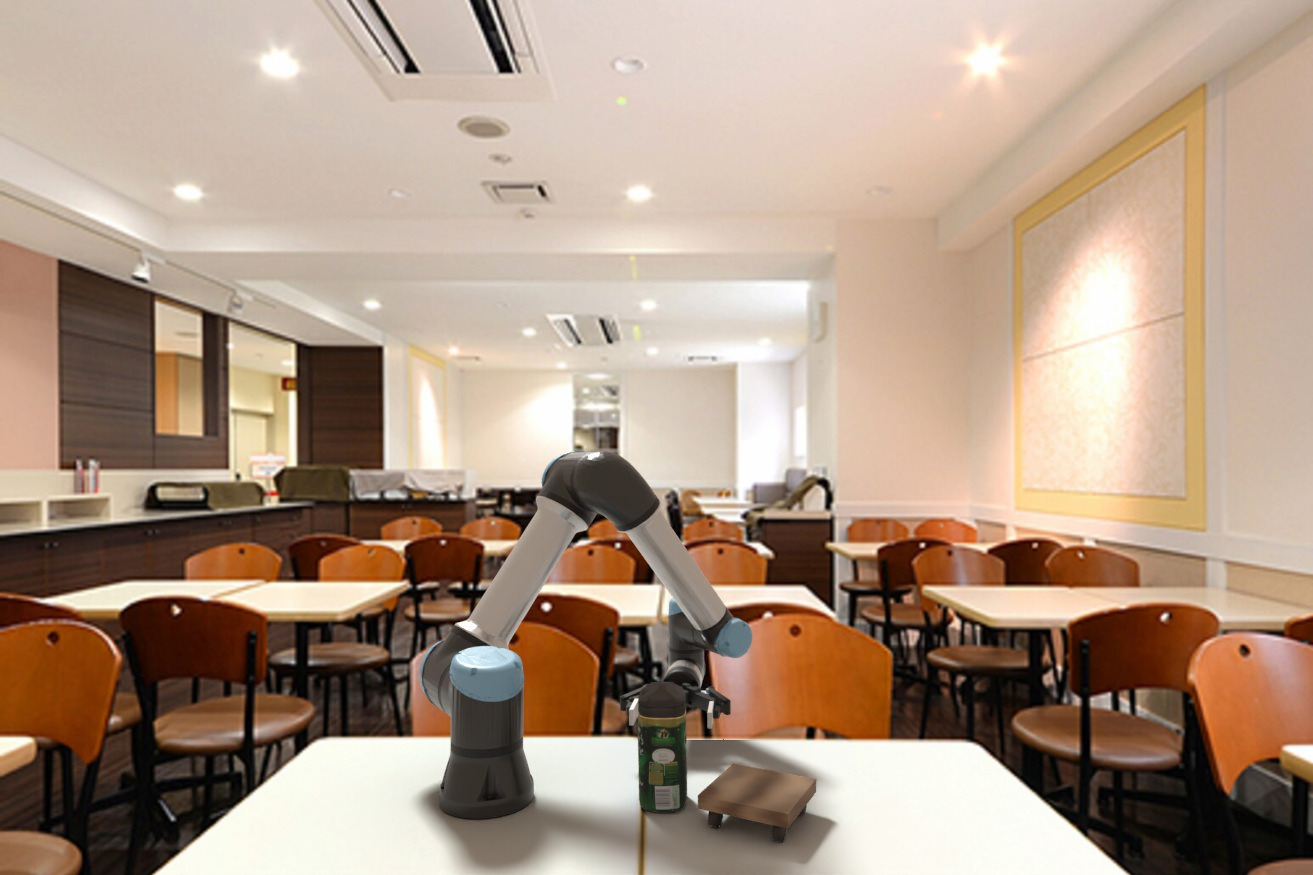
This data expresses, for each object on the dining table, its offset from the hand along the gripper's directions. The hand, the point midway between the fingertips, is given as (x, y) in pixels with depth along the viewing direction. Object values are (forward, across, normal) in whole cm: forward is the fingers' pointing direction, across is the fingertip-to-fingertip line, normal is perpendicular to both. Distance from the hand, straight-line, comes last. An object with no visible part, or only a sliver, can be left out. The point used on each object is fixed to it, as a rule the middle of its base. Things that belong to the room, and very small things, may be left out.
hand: (670, 718), depth 137 cm
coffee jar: (+9, 0, -11) cm, 14 cm away
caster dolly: (+13, -15, -10) cm, 23 cm away
